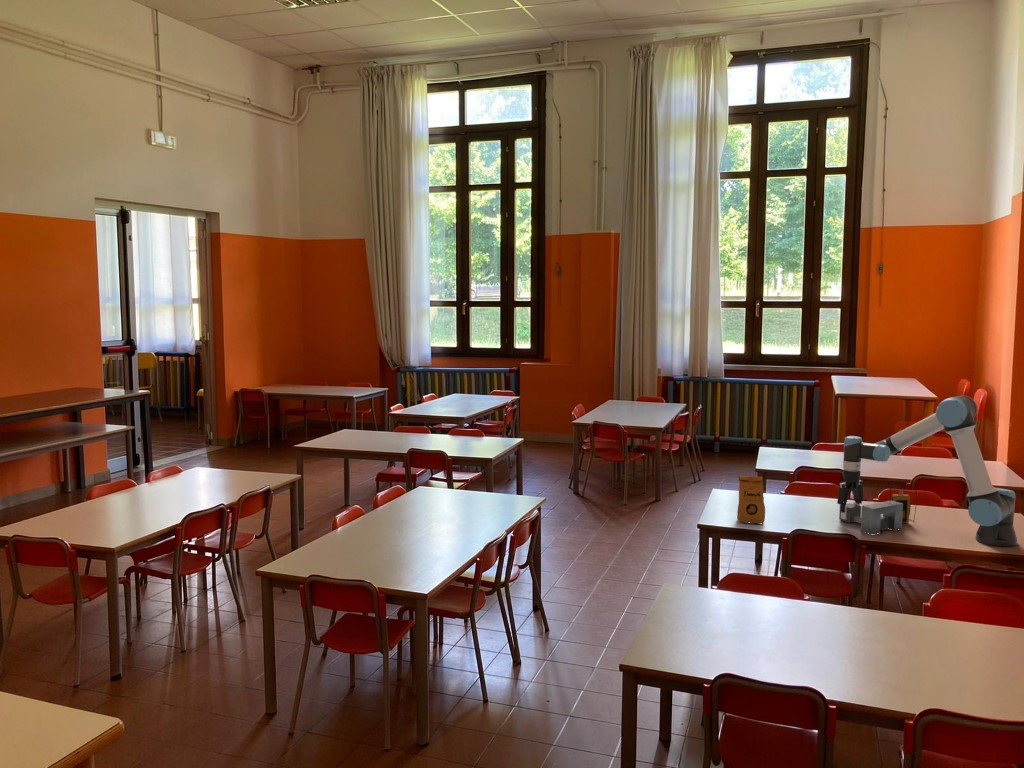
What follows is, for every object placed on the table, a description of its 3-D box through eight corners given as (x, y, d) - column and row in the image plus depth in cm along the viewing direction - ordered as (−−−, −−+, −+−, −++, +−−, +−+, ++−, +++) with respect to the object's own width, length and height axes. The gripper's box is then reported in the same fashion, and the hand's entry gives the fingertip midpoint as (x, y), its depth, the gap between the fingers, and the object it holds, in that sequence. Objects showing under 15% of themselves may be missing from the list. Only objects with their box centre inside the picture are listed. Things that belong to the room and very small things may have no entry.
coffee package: (764, 526, 366) (766, 479, 364) (736, 524, 370) (737, 477, 367) (764, 520, 376) (766, 474, 373) (737, 518, 379) (738, 473, 377)
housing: (901, 529, 359) (903, 503, 358) (872, 535, 351) (873, 509, 350) (890, 526, 365) (891, 500, 363) (860, 531, 356) (861, 505, 355)
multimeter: (908, 517, 378) (910, 476, 376) (917, 523, 368) (919, 481, 366) (876, 517, 379) (878, 475, 377) (884, 523, 369) (886, 480, 367)
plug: (886, 528, 359) (886, 513, 359) (875, 530, 356) (875, 515, 356) (850, 517, 377) (850, 503, 377) (839, 519, 374) (839, 504, 374)
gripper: (842, 473, 363) (840, 522, 365) (873, 468, 371) (871, 517, 374) (829, 470, 369) (827, 518, 372) (860, 465, 378) (858, 513, 381)
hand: (849, 517), depth 373 cm, fingers closed on plug, 7 cm apart
